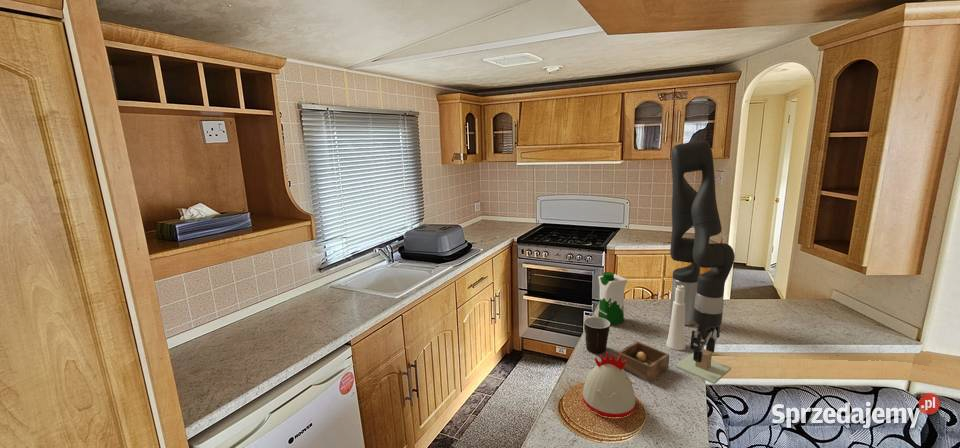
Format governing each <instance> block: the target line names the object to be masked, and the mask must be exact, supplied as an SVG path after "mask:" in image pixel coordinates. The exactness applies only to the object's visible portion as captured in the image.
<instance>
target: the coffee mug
mask: <svg viewBox="0 0 960 448" xmlns="http://www.w3.org/2000/svg"><path fill="white" fill-rule="evenodd" d="M583 327H584V336H585V337H584V338H585V346H586V347H585V348H586V350H587V352H589V353H591V354H595V355H601V354H602V355H603V354H604V353H605V352H607V347H608V346H607V344H608V338H609V333H610V329H611V328H610V327H611V325H610V322H609V321H608V320H606V319H604V318H600V317H598V316H589V317H586V318H585V319H584V320H583Z"/></svg>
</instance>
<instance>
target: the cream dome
mask: <svg viewBox="0 0 960 448" xmlns="http://www.w3.org/2000/svg"><path fill="white" fill-rule="evenodd" d="M615 356H616V355H615V353H614V352H612V355H611V358H610V354H609V351H607V350H606V355H605V358H604V355H603V353H602V354H600V356H599V357H600V361H599V360H598V358H597V357H596V356H595V357H594V361H595V364H596V365H595V366H594V367H593V368H592V369H591V370H590V372H589V373H588V375H587V378H586V380H585V382H584V385H583V388H582V394H581V395H582V397H583V399H582V402H583V401H584V403H585V404H586V405H587V407H589V408H590V409H591V410H592V411H594V412H596V413H598V414H600V415H602V416H607V417H624V416H627V415H629V414H631V413H632V412H633V411H634V412H635V410H636V395H635V391H634V387H633V382H632V381H631V379H630V377H629V375H628V372H626V371H624V370H623V369H622V368H623V367H624V366H625V364H626V362H627V359H626V360H625V361H624V362H621V354H620V356H619V358H618V360H617V359H616V357H615ZM584 403H583V404H584ZM587 407H586V408H587ZM634 409H635V410H634ZM634 412H633V413H634ZM631 415H632V414H631Z"/></svg>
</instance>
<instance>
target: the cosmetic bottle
mask: <svg viewBox="0 0 960 448" xmlns="http://www.w3.org/2000/svg"><path fill="white" fill-rule="evenodd" d="M684 294H685V289H684V286H682V285H677V288H676V291H675V301H674V302H673V307H672V315H671V320H670V324H669V330H668V336H667V338H666V339H667V340H666V342H665V345H666V346H667V347H668V348H669V349H671V350H675V351H683V350H686V348H687V346H686V337H685V336H686V334H685V326H686V325H685V303H684Z"/></svg>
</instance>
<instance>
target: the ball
mask: <svg viewBox="0 0 960 448" xmlns="http://www.w3.org/2000/svg"><path fill="white" fill-rule="evenodd" d="M636 358H637V359H638V360H639V361H645V360H646V355H645V353H643V352H638V353H637V354H636Z"/></svg>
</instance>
